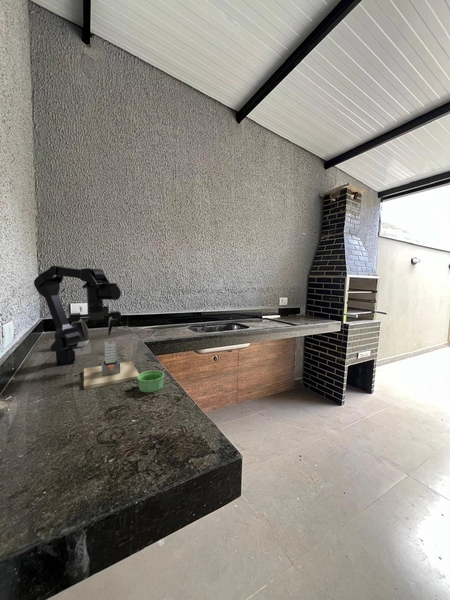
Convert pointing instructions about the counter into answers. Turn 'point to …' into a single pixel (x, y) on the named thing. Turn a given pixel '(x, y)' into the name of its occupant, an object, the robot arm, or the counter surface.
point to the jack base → (109, 374)
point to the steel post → (110, 352)
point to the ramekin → (150, 381)
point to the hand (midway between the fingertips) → (96, 336)
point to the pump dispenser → (82, 340)
